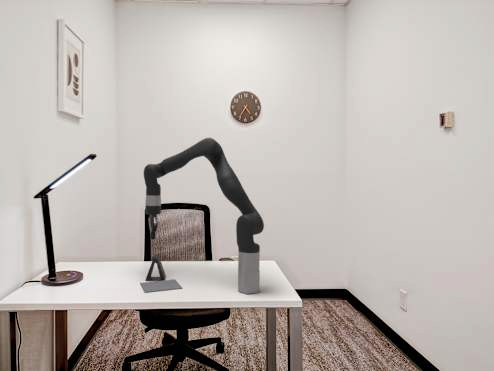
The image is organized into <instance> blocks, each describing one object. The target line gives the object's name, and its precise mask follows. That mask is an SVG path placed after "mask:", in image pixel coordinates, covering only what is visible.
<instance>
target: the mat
mask: <svg viewBox="0 0 494 371" xmlns="http://www.w3.org/2000/svg"><path fill="white" fill-rule="evenodd" d="M140 286H141V288H142V290H143V292H144V293H145V294H146V293H156V292H166V291H172V290H173V291H174V290H180V289H181V290H183V286H182V285H180V284H179V282H178V281H177V279H165V280H163V281H145V282H144V281H143V282H140Z"/></svg>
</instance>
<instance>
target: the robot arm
mask: <svg viewBox="0 0 494 371" xmlns="http://www.w3.org/2000/svg"><path fill="white" fill-rule="evenodd" d="M201 157H205V159H207V160H208V161H209V162H210V165H211V166H212V167H213V169H214V172H215V174H216V179H217V184H218V186H219V188H220V190H221V193H222V194H223V196H224V197H225V198H226V199H227V200H228V201H229V202H230V203H231V204H232V205H233V206H235V207H236V208H237V209H238V210H239V212H240V213H241V215H240V216H239V217H238V218H237V220H236V224H235V225H236V227H235V228H236V229H235V232H236V245H237V247H238V258H237V262H238V263H237V264H238V265H237V267H238V268H237V292H240V293H243V294H245V295H250V294H258V293H260V276H261V272H260V260H261V259H260V258H261V257H260V256H261V254H260V252H261V249H260V248H261V247H260V246H261V245H260V244H258V243H257V242H255V240H254V236H255V235H260V234H261V233H262V232H263V231H264V228H265V224H264V220H263V218H262V216H261V214H260V213H259V211H258V210H257V209H256V207H255V206H254V204H253V203H252V201H251V199H250V198H249V196H248V194H247V193H246V191H245V189H244V187H243V185H242V183H241V181H240V180H239V178H238V176H237V175H236V173H235V171H234V169H233V168H232V167H231V165H230V164H229V162H228V160H227V157H226V154H225V152H224V150H223V147H222V145H221V144H220V143H219V142H218V141H217V140H215V139H214V138H212V137H206V138H203V139H201V140H199V141H198V142H196V143H195V144H193V145H192V146H190V147H188V148H186V149H184V150H183V151H181V152H178V153H176V154H174V155H171V156H169V157H166V158H164V159H162V160H161V162H159V163H156V164H155V163H153V164H152V163H150V164H149V163H148V164H146V166H145V167H144V169H143V178H144V184H145V210H144V211H145V212H144V214H146V215H147V216H148V215H149V217H148V219H147V220H148V226H149V227H148V228H149V231H150V240H156V233H157V231H158V224H159V219H158V215H160V214H161V213H162V194H161V193H162V192H161V191H162V190H161V184H159V183H158V179H160V178H163V177H164V176H166V175H168V174H169V173H173V172H175V171H178V170H181V169H183V167H185V166H186V165H187V164H188V163H190V162H191V161H192V160H194V159H196V158H201Z"/></svg>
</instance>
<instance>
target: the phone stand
mask: <svg viewBox="0 0 494 371" xmlns="http://www.w3.org/2000/svg"><path fill="white" fill-rule="evenodd" d="M156 257H157V258H156ZM155 264H156V265H157V270H158V273H159V274H158V275H159V276H153V272H154V271H153V270H154V268H155ZM166 278H167V274H166V271H165V269H164V266H163V264H162V261H161V254H160V252H158V253H157V252H154V254H153V256H152V258H151V264H150V267H149V269H148V272H147V275H146V277H145V280H144V281H145V282H154V281H163V280H166Z"/></svg>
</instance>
